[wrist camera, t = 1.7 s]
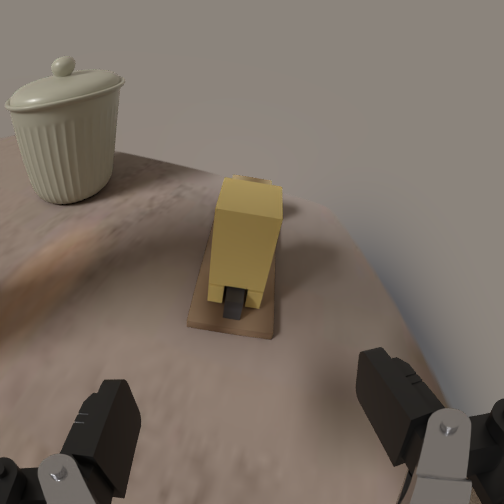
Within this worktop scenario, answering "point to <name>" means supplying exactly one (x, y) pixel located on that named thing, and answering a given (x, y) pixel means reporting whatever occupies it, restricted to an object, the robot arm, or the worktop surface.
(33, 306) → the worktop surface
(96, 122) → the canister
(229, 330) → the brown slotted block
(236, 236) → the yellow block
